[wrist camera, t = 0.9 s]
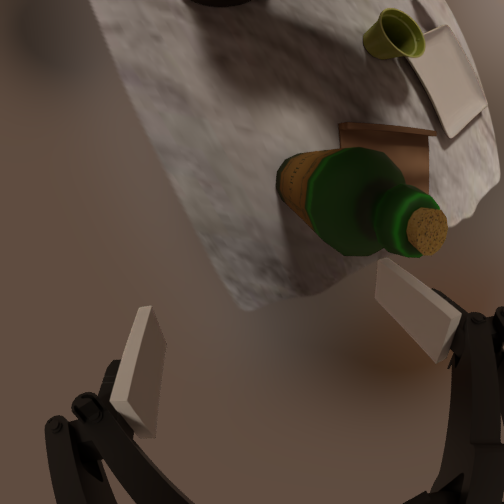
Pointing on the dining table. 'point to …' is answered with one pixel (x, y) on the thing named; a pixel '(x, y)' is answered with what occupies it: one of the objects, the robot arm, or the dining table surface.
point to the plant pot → (394, 36)
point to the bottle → (361, 203)
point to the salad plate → (449, 80)
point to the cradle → (393, 147)
